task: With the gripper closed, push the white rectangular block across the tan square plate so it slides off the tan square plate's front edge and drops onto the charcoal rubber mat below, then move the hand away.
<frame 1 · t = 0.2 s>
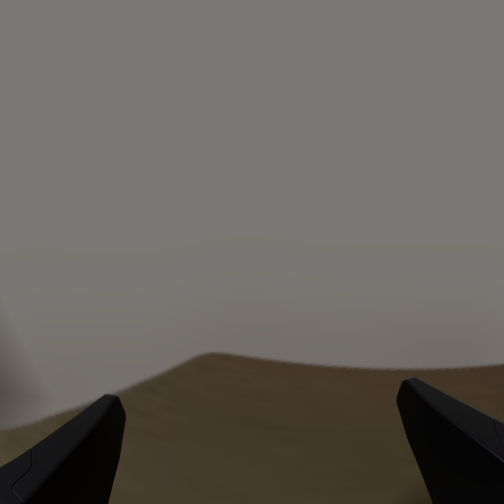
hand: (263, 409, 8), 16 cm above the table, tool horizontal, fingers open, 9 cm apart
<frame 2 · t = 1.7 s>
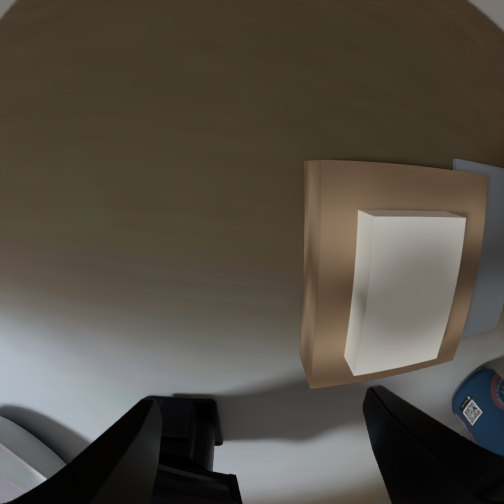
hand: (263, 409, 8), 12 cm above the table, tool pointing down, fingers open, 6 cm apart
serving bowl: (33, 445, 26), on the table
tan square plate: (384, 264, 20), on the table
soda can: (468, 386, 25), on the table
mat: (483, 256, 20), on the table
white rectangular block: (398, 286, 16), point 4 cm above the table, touching tan square plate
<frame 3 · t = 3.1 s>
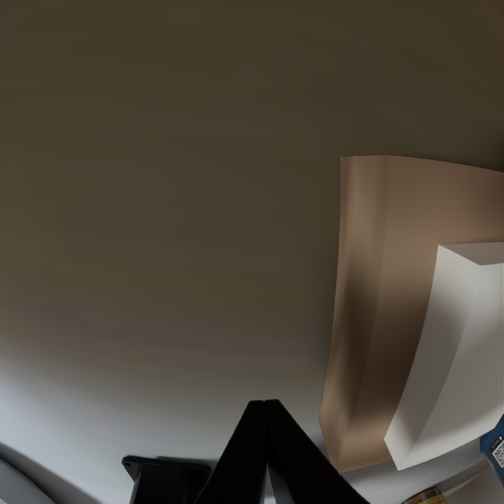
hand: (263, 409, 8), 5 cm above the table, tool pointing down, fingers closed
serving bowl: (16, 474, 20), on the table
tan square plate: (438, 305, 13), on the table
soda can: (498, 420, 18), on the table
white rectangular block: (468, 349, 9), point 4 cm above the table, touching tan square plate
sauce bottle: (416, 497, 22), on the table
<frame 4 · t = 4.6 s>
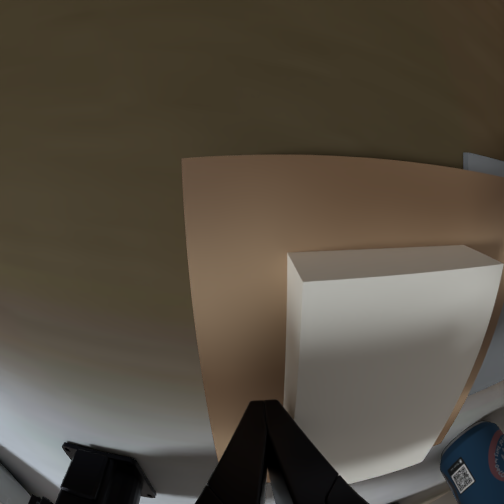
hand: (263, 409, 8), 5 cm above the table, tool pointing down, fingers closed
tan square plate: (346, 320, 13), on the table
soda can: (463, 439, 18), on the table
mat: (498, 296, 13), on the table
white rectangular block: (369, 374, 9), point 4 cm above the table, touching tan square plate, gripper
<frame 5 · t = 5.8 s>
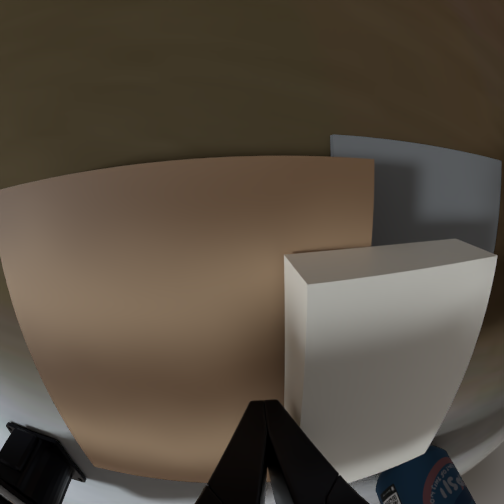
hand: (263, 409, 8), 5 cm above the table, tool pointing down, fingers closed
tan square plate: (190, 327, 13), on the table
soda can: (406, 462, 18), on the table
mat: (415, 311, 13), on the table
white rectangular block: (368, 371, 9), point 4 cm above the table
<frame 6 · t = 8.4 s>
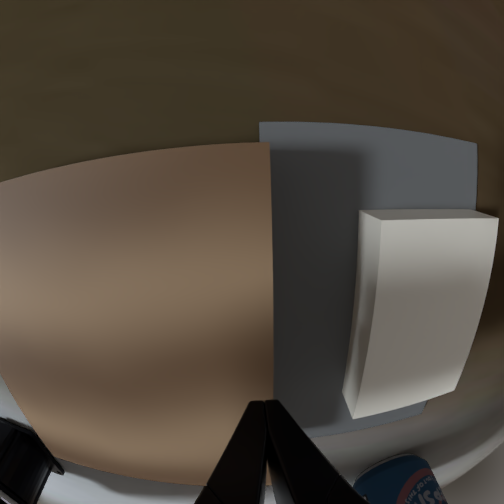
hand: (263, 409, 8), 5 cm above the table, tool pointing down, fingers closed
tan square plate: (130, 325, 12), on the table
soda can: (385, 470, 17), on the table
mat: (374, 314, 12), on the table
white rectangular block: (433, 329, 10), point 2 cm above the table, tilted 180°, touching mat
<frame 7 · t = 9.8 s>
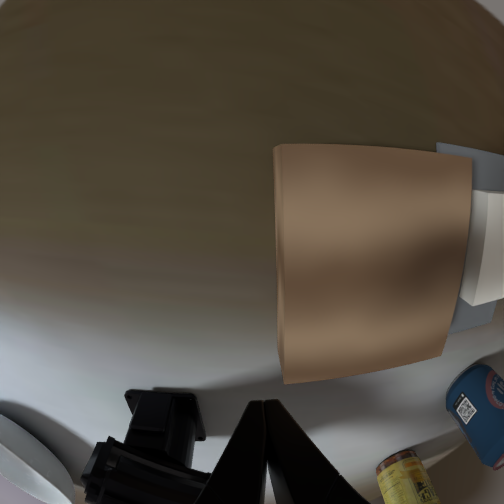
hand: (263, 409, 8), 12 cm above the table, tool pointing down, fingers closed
serving bowl: (27, 440, 27), on the table
tan square plate: (363, 254, 19), on the table
soda can: (463, 382, 24), on the table
mat: (474, 246, 19), on the table
sauce bottle: (393, 459, 28), on the table
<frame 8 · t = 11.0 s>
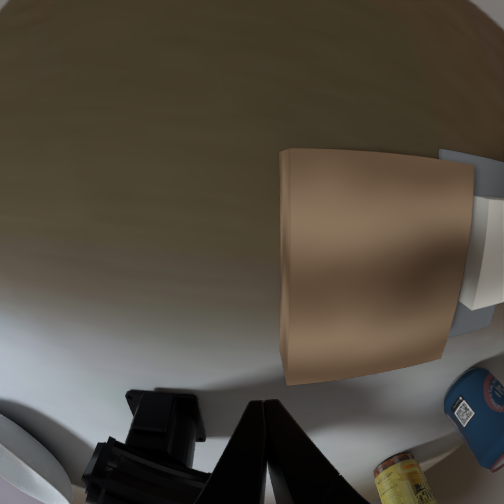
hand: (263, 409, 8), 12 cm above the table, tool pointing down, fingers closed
serving bowl: (24, 439, 26), on the table
tan square plate: (365, 258, 19), on the table
soda can: (461, 385, 25), on the table
mat: (474, 251, 20), on the table
white rectangular block: (503, 255, 17), point 2 cm above the table, tilted 180°, touching mat
sauce bottle: (391, 462, 28), on the table
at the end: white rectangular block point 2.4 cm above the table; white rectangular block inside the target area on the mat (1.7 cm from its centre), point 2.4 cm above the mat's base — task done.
